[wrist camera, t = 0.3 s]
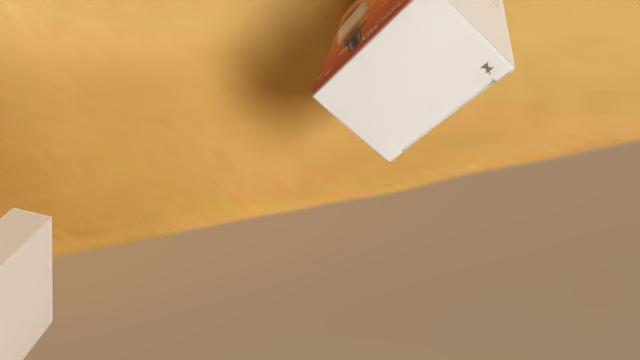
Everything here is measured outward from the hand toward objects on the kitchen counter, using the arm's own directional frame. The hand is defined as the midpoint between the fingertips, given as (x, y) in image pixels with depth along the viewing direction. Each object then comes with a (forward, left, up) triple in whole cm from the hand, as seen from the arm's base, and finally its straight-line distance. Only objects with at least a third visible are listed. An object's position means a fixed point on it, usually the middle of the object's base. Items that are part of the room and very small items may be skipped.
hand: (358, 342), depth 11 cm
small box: (+1, +2, -27) cm, 27 cm away
